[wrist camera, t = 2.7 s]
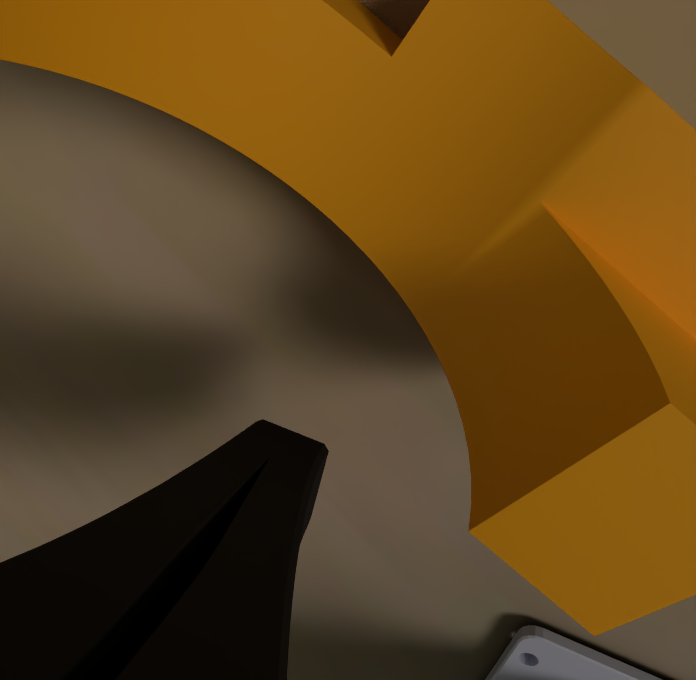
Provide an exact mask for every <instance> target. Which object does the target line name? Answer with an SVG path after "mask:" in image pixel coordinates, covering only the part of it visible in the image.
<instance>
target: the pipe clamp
mask: <svg viewBox="0 0 696 680" xmlns="http://www.w3.org/2000/svg"><path fill="white" fill-rule="evenodd" d="M0 60H5V61H10V62H15V63H19V64H24V65H28V66H32V67H37V68H41V69H45V70H49V71H52V72H56V73H59V74H63V75H66V76H70V77H74V78H77V79H80V80H83V81H86V82H89V83H92V84H95V85H98V86H101V87H104V88H107V89H110V90H113V91H115V92H118V93H120V94H123V95H126V96H128V97H131V98H133V99H136V100H139V101H141V102H143V103H146V104H148V105H150V106H152V107H155V108H157V109H159V110H162V111H164V112H166V113H168V114H170V115H172V116H174V117H177V118H179V119H181V120H183V121H185V122H187V123H189V124H191V125H193V126H195V127H197V128H199V129H200V130H202V131H204V132H206V133H208V134H210V135H211V136H213V137H215V138H217V139H219V140H221V141H222V142H224V143H226V144H227V145H229V146H231V147H232V148H234V149H236V150H237V151H239V152H241V153H242V154H244V155H246V156H247V157H249V158H250V159H252V160H253V161H255V162H256V163H258V164H259V165H261V166H262V167H264V168H265V169H267V170H268V171H270V172H271V173H273V174H274V175H275V176H277V177H278V178H279V179H281V180H282V181H284V182H285V183H286V184H288V185H289V186H291V187H292V188H293V189H294V190H296V191H297V192H298V193H299V194H301V195H302V196H303V197H305V198H306V199H307V200H308V201H310V202H311V203H312V204H313V205H314V206H315V207H317V208H318V209H319V210H320V211H321V212H322V213H324V214H325V215H326V216H327V217H328V218H329V219H331V220H332V221H333V222H334V223H335V224H336V225H337V226H338V227H339V228H340V229H341V230H342V231H343V232H344V233H345V234H346V235H348V236H349V237H350V238H351V239H352V241H353V242H354V243H355V244H356V245H357V246H358V247H359V248H360V249H361V250H362V251H363V252H364V253H365V254H366V255H367V256H368V257H369V258H370V260H371V261H372V262H373V263H374V264H375V265H376V266H377V268H378V269H379V270H380V271H381V272H382V273H383V275H384V276H385V277H386V278H387V280H388V281H389V282H390V283H391V285H392V286H393V287H394V288H395V290H396V291H397V292H398V294H399V295H400V296H401V298H402V299H403V301H404V302H405V303H406V305H407V306H408V308H409V309H410V310H411V312H412V313H413V315H414V317H415V318H416V320H417V321H418V323H419V324H420V326H421V328H422V329H423V331H424V332H425V334H426V336H427V338H428V340H429V341H430V343H431V345H432V347H433V349H434V351H435V352H436V354H437V356H438V359H439V361H440V363H441V365H442V367H443V369H444V371H445V374H446V376H447V378H448V381H449V383H450V386H451V389H452V391H453V394H454V396H455V399H456V402H457V405H458V409H459V412H460V416H461V419H462V422H463V426H464V431H465V436H466V441H467V446H468V451H469V460H470V469H471V512H470V522H469V532H470V533H471V534H472V535H473V536H475V537H476V538H477V539H478V540H479V541H481V542H482V543H483V544H484V545H485V546H487V547H488V548H489V549H490V550H491V551H493V552H494V553H495V554H496V555H497V556H499V557H500V558H501V559H502V560H503V561H505V562H506V563H507V564H508V565H509V566H511V567H512V568H513V569H514V570H515V571H517V572H518V573H519V574H520V575H521V576H523V577H524V578H525V579H526V580H527V581H529V582H530V583H531V584H532V585H533V586H535V587H536V588H537V589H538V590H539V591H541V592H542V593H543V594H544V595H545V596H547V597H548V598H549V599H550V600H551V601H553V602H554V603H555V604H556V605H557V606H559V607H560V608H561V609H562V610H563V611H565V612H566V613H567V614H568V615H569V616H571V617H572V618H573V619H574V620H575V621H577V622H578V623H579V624H580V625H581V626H583V627H584V628H585V629H586V630H587V631H589V632H590V633H591V634H592V635H593V636H596V635H598V634H601V633H603V632H606V631H608V630H610V629H613V628H615V627H618V626H620V625H623V624H625V623H627V622H630V621H632V620H635V619H637V618H640V617H642V616H645V615H647V614H649V613H652V612H654V611H657V610H659V609H662V608H664V607H666V606H669V605H671V604H674V603H676V602H679V601H681V600H683V599H686V598H688V597H691V596H693V595H696V130H695V129H693V128H692V127H691V126H690V125H689V124H688V123H687V122H686V121H685V120H684V119H683V118H681V117H680V116H679V115H678V114H677V113H676V112H675V111H674V110H673V109H672V108H671V107H670V106H668V105H667V104H666V103H665V102H664V101H663V100H662V99H661V98H660V97H659V96H658V95H656V94H655V93H654V92H653V91H652V90H651V89H650V88H649V87H647V86H646V85H645V84H644V83H643V82H641V81H640V80H639V79H638V78H637V77H635V76H634V75H633V74H632V73H631V72H630V71H628V70H627V69H626V68H625V67H624V66H622V65H621V64H620V63H619V62H618V61H617V60H615V59H614V58H613V57H612V56H611V55H610V54H608V53H607V52H606V51H605V50H604V49H603V48H601V47H600V46H599V45H598V44H597V43H596V42H594V41H593V40H592V39H591V38H590V37H589V36H588V35H586V34H585V33H584V32H583V31H582V30H581V29H580V28H578V27H577V26H576V25H575V24H574V23H573V22H572V21H570V20H569V19H568V18H567V17H566V16H565V15H564V14H562V13H561V12H560V11H559V10H558V9H557V8H556V7H555V6H553V5H552V4H551V3H550V2H549V1H548V0H430V1H429V2H428V4H427V5H426V7H425V8H424V10H423V11H422V13H421V14H420V16H419V17H418V19H417V20H416V22H415V23H414V24H413V26H412V27H411V29H410V30H409V32H408V33H407V35H406V36H405V38H404V39H403V40H402V39H401V38H400V37H399V36H398V35H396V34H395V33H394V32H393V31H392V30H391V29H390V28H389V27H387V26H386V25H385V24H384V23H383V22H382V21H381V20H380V19H379V18H377V17H376V16H375V15H374V14H373V13H372V12H371V11H370V10H368V9H367V8H366V7H365V6H364V5H363V4H362V3H361V2H360V1H358V0H0Z"/></svg>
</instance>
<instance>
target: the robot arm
mask: <svg viewBox="0 0 696 680" xmlns="http://www.w3.org/2000/svg"><path fill="white" fill-rule="evenodd" d="M328 452H329V451H328V449H327V448H326V446H325V444H323V443H321V442H318V441H316V440H313V439H311V438H308V437H306V436H303V435H301V434H298V433H296V432H293V431H291V430H288V429H286V428H283V427H281V426H278V425H276V424H273V423H271V422H268V421H266V420H263V419H262V420H260V421H257V422H255V423H254V424H252V425H251V426H250V427H248V428H247V429H245V430H244V431H242V432H241V433H240V434H238V435H237V436H235V437H234V438H232V439H231V440H230V441H228V442H227V443H225V444H224V445H222V446H221V447H219V448H218V449H216V450H215V451H213V452H212V453H210V454H208V455H207V456H205V457H204V458H202V459H201V460H199V461H198V462H196V463H194V464H193V465H191V466H190V467H188V468H186V469H185V470H183V471H181V472H180V473H178V474H177V475H175V476H173V477H172V478H170V479H168V480H167V481H165V482H163V483H162V484H160V485H158V486H157V487H155V488H153V489H151V490H150V491H148V492H146V493H144V494H142V495H140V496H139V497H137V498H135V499H133V500H131V501H130V502H128V503H126V504H124V505H122V506H120V507H119V508H117V509H115V510H113V511H111V512H109V513H108V514H106V515H104V516H102V517H100V518H98V519H96V520H94V521H92V522H90V523H88V524H86V525H84V526H82V527H80V528H78V529H76V530H74V531H71V532H69V533H67V534H65V535H63V536H61V537H58V538H56V539H54V540H52V541H50V542H48V543H46V544H43V545H41V546H39V547H37V548H34V549H32V550H30V551H27V552H25V553H22V554H20V555H18V556H15V557H13V558H10V559H8V560H6V561H3V562H1V563H0V680H287V663H288V647H289V632H290V619H291V609H292V599H293V590H294V581H295V573H296V566H297V559H298V552H299V546H300V543H301V540H302V538H303V535H304V533H305V530H306V528H307V526H308V523H309V521H310V518H311V515H312V511H313V507H314V504H315V500H316V496H317V493H318V489H319V485H320V481H321V478H322V474H323V470H324V467H325V463H326V459H327V455H328ZM485 680H662V679H660V678H658V677H656V676H653V675H651V674H649V673H646V672H644V671H642V670H639V669H637V668H635V667H632V666H630V665H628V664H626V663H623V662H621V661H619V660H616V659H614V658H612V657H609V656H607V655H605V654H602V653H600V652H598V651H595V650H593V649H591V648H589V647H586V646H584V645H582V644H579V643H577V642H575V641H572V640H570V639H568V638H565V637H563V636H561V635H559V634H556V633H554V632H552V631H549V630H547V629H545V628H542V627H539V626H536V625H528V626H524V627H522V628H521V629H519V630H518V631H517V633H516V634H515V636H514V637H513V639H512V640H511V642H510V643H509V645H508V646H507V648H506V649H505V651H504V652H503V654H502V655H501V657H500V658H499V660H498V661H497V663H496V664H495V666H494V667H493V669H492V670H491V672H490V673H489V675H488V676H487V678H486V679H485Z"/></svg>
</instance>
